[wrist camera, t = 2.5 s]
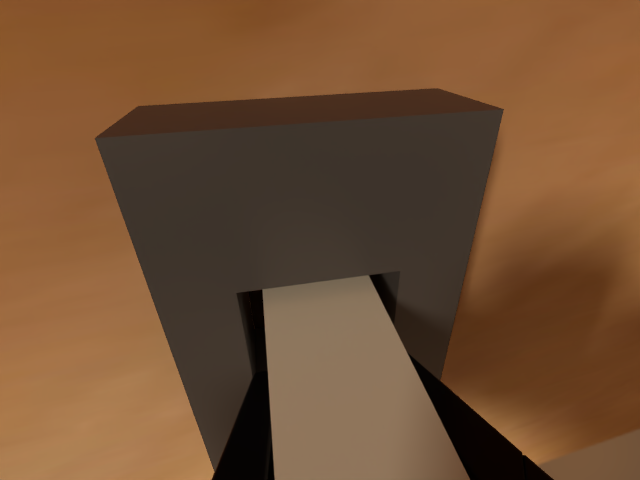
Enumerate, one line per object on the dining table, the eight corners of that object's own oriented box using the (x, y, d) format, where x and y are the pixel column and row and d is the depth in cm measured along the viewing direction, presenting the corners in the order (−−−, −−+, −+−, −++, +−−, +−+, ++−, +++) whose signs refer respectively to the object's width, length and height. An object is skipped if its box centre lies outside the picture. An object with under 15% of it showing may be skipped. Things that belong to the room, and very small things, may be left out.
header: (399, 370, 16) (427, 433, 14) (221, 401, 15) (216, 476, 13) (437, 88, 10) (504, 109, 7) (138, 106, 9) (94, 137, 6)
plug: (347, 302, 13) (466, 622, 6) (268, 314, 13) (298, 670, 6) (348, 235, 12) (508, 557, 5) (259, 246, 12) (283, 617, 4)
